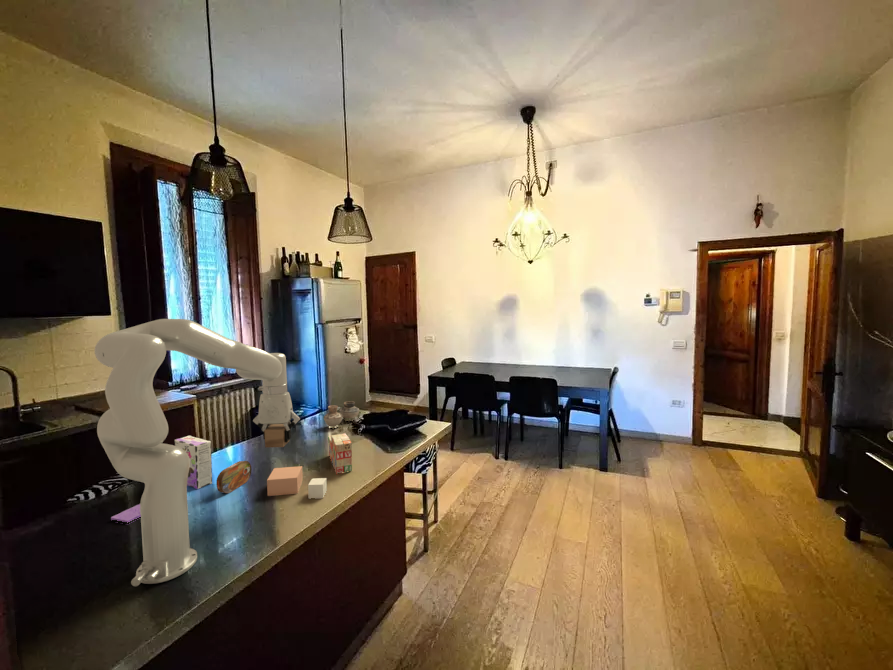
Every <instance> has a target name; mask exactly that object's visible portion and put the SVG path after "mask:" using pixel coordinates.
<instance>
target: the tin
mask: <svg viewBox="0 0 893 670" xmlns="http://www.w3.org/2000/svg"><path fill="white" fill-rule="evenodd" d="M252 472H253V471H252V464H251V463H250V462H249V461H248V460H240V461H237V462H235V463H233V464H231V465H230V466H228V467H226V468H224V469H223V470H221V471H220V472H219V474H218V475H217V477H216V480H215V481H216V483H215V485H216V489H217V491H218V492H219V493H221V494H230V493H233V492H234V491H235V490H238V488H240V487H241V486H243V485H244V484H246V483H247V482H248V481H249V479H250V478H251V475H252Z"/></svg>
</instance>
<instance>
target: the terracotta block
mask: <svg viewBox="0 0 893 670" xmlns="http://www.w3.org/2000/svg"><path fill="white" fill-rule="evenodd" d="M303 477H304V476H303V466H302V465H301V466H300V465H299V466H286V467H274V468H273V470H272V471H271V473H270V474H269V476H268V477H267V480H266V487H267V497H271V496H282V495H283V496H284V495H293V494H298V493H299V492H300V488H301V486H302V484H303V479H304V478H303Z"/></svg>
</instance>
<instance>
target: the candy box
mask: <svg viewBox="0 0 893 670" xmlns="http://www.w3.org/2000/svg"><path fill="white" fill-rule="evenodd" d="M174 446H177V447H180V448H182V449H183V450H184V451H185V452H186V453H187V454H188V456H189V459H190V467H189V473H188V479H187V487H191V488H193V489H196V490H199V489H202V488H204V487H207V486H210V485H212V484H213V469H212V466H213V465H212V464H213V463H212V442H211V440H206V439H204V438H199V437H195V436H192V435H187V436H182V437H180V438H176V439H174Z"/></svg>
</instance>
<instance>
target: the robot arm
mask: <svg viewBox="0 0 893 670" xmlns="http://www.w3.org/2000/svg"><path fill="white" fill-rule="evenodd" d="M167 351H169V352H171V351H172V352H174V351H175V352H178V353H182V354H184V355H187V356H189V357H191V358H194V359H196V360H199V361H202V362H203V363H207V364H209V365H211V366H215V367H219V368H224V369H232V370H233V369H234V370H235V372H236V373H237V375H238V376H239V377H241V378H242V379H246V380H256V381H257V380H259V381H262V385H261V386H258V391H262V393H261V394H260V397H259V403H258V404H259V405H258V414H257V415H256V416H255V417H254V418H253V420H252V422H253V423H254V424H255V425H257V427H258V428H260V429H261V431H262V433H263V440H265V432H264V430H265V429H266V428H268V427H269V426H270V425H271V424H284V427H285V429H286V430H285V442H288V441H289V440H290V439H291V438H292V428H293V427H294V426H295V425H296V424H297V423H298V422H299V421H300V420H301V418H300V417H299V416H298V414H296V413H295V412H294V410H293V403H292V402H293V401H292V398H291V395H290V392H289V391H288V379H287V378H288V376H287V375H288V374H287V359H286V358H287V356H286V355H285V354H284V353H281V352H271V353H270V352H267V351H265V350H263V349H260V348H257V347H254V346H251V345H248V344H245V343H243V342H240V341H237V340H234V339H230V338H228V337H226V336H224V335H221V334H220V333H218V332H215V331H214V330H211V329H209V328H208V327H205V326H203V325H202V324H200V323H198V322H196V321H194V320H190V319H185V318H159V319H155V320H152V321H151V320H150V321H148V322H145V323H141V324H137V325H135V326H131V327H130V326H129V327H128V328H125V329H124V328H123V329H121V330H120V329H119V330H117V331H113V332H111V333H107V334H106V335H104V336H102V337H101V338H100V339H99V340H98V341H97V343H96V344H95V346H94V355H95V358H96V359H97V361H98V362H99V363H100V364H102V365H103V366H105V367H109V368H112V370H111V371H110V372H109V373H110V374H109V375H108V378H107V380H106V382H105V383H106V384H105V388H104V394H105V400H106V402H107V405H108V407H109V408H108V409H107V410H106V411H105V412H103V414H102V415H101V416H100V418H99V420H98V421H97V425H96V426H97V427H96V433H97V437H98V440H99V442H100V444H101V447H102V448H103V449H104V451H105V454H106V455H107V457H108V459H109V462H110V463H111V465H112V467H113V468H114V469H115V472H117V474H119V475H120V476H121V477H122V478H125V479H128V480H132V481H135V482H141V483H144V490H143V493H142V495H141V498H140V503H139V504H140V514H141V518H140V523H141V524H140V525H141V539H142V540H141V543H142V556H143V557H142V558H143V561H142V562H141V564H140V565H139V567H138V568H137V569H136V571H135V572H136V573H135V576H134V577H133V578H132V579H131V580H130V584H131V585H132V586H133V587H138V586H139V585H140V584H141V583H142V584H144V585H145V584H147V585H153V584H154V585H155V584H160V583H164V582H168V581H170V580H173V579H175V578H177V577H179V576H181V575H183V574H186V572H188V571H189V570H190V569H191V568H193V566H194V565H196V562H197V561H198V552H197V550H195V549H194V548H191V546H190V544H191V543H190V529H189V525H190V523H189V510H188V509H189V507H188V491H187V490H188V485H187V479H188V473H189V467H190V459H189V456H188V454H187V453H186V452H185V451H184V450H183V449H182V448H180V447H177V446H175V444H174V445H173V444H168V443H163V442H164V441H165V440H166V438H167V436H168V435H169V424H168V421H167V419H166V416H165V414H164V411H163V410H162V407H161V404H160V403H159V400H158V399H157V396H156V393H155V391H154V386H153V382H154V377H155V375H156V373H157V371H158V369H159V368H160V366H161V365H162V364H163V362H164V360H165V357H166V354H167ZM292 419H293V420H292ZM291 420H292V422H291ZM289 442H290V441H289ZM289 442H288V443H289Z"/></svg>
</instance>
